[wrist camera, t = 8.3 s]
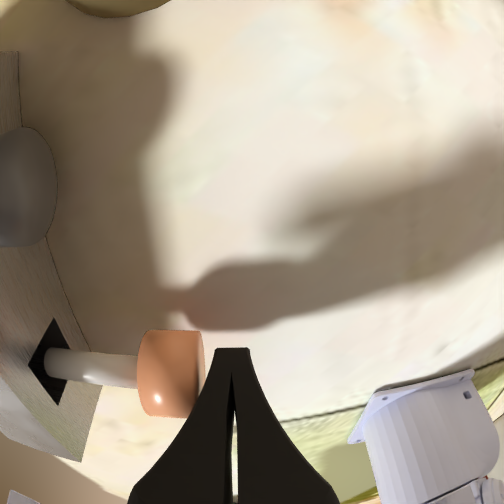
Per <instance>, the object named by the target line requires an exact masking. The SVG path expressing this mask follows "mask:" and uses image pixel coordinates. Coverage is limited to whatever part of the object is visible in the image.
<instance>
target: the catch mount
mask: <svg viewBox="0 0 504 504" xmlns="http://www.w3.org/2000/svg"><path fill="white" fill-rule="evenodd" d="M21 127H22V120H21V110H20V98H19V81H18V52H0V134H1V133H4V132H7V131H10V130H14V129H17V128H21ZM50 347H54V348H62V349H70V350H78V351H87V352H91V351H90V349H89V347H88V345H87V343H86V341H85V339H84V337H83V334H82V332H81V330H80V328H79V326H78V323H77V321H76V319H75V317H74V314H73V312H72V310H71V307H70V305H69V302H68V300H67V297H66V295H65V292H64V290H63V287H62V284H61V282H60V279H59V276H58V273H57V271H56V268H55V265H54V262H53V259H52V256H51V253H50V250H49V247H48V244H47V240H46V237H45V236H44V237H43V238H42V239H41V240H40V241H39V242H38V243H36V244H34V245H32V246H26V247H7V248H0V431H1V432H2V433H3V434H4V435H5V436H6V437H8V438H9V439H11V440H13V441H16V442H19V443H21V444H24V445H26V446H29V447H32V448H35V449H38V450H41V451H44V452H47V453H50V454H53V455H56V456H59V457H63V458H66V459H70V460H73V461H77V462H81V461H82V457H83V453H84V449H85V445H86V441H87V437H88V434H89V430H90V426H91V423H92V419H93V416H94V412H95V409H96V405H97V402H98V399H99V395H100V392H101V389H102V386H103V385H98V384H91V383H84V382H78V381H72V380H66V379H60V378H55V377H50V376H49V375H48V374H47V373H46V370H45V367H44V356H45V353H46V351H47V350H48V349H49V348H50Z"/></svg>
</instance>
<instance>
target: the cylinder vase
mask: <svg viewBox="0 0 504 504" xmlns="http://www.w3.org/2000/svg"><path fill="white" fill-rule="evenodd" d="M493 423H494V425H495V428H496V430H497V432H498V436H499V441H500V452H499V458H498V461H497V463H496V465H495V466H494V468H493V469H492V470H491V472H490V473H489V474H487V477H488V479H489V478H494V479H498V480H501V481H502V482H503V483H504V414H503V415H502V416H501V417H499V418H498V419H497V420H496V421H494V422H493Z"/></svg>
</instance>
